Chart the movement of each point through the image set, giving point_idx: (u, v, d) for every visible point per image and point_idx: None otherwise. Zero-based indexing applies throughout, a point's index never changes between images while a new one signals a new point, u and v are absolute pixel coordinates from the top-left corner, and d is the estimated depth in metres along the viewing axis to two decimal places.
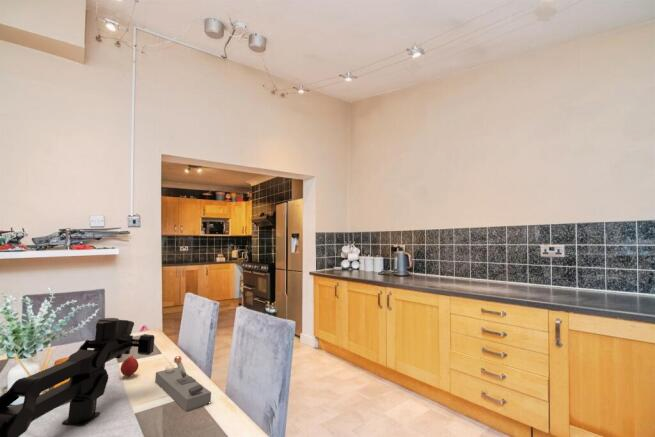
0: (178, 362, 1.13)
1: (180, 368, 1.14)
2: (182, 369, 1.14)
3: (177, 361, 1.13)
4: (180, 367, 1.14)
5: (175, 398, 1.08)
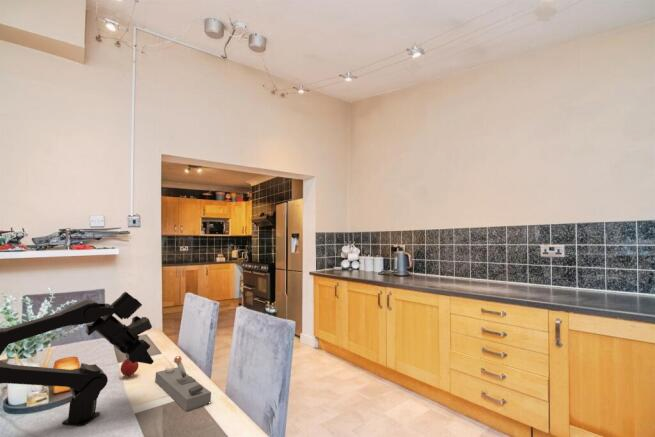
0: (178, 362, 1.13)
1: (180, 368, 1.14)
2: (182, 369, 1.14)
3: (177, 361, 1.13)
4: (180, 367, 1.14)
5: (175, 398, 1.08)
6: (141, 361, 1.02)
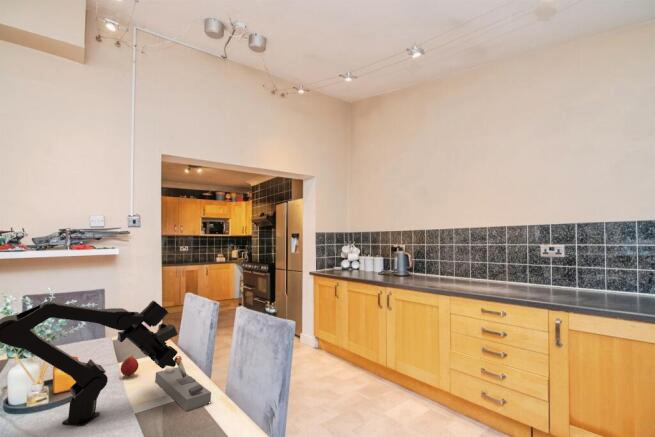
0: (178, 362, 1.13)
1: (180, 368, 1.14)
2: (182, 369, 1.14)
3: (177, 361, 1.13)
4: (180, 367, 1.14)
5: (175, 398, 1.08)
6: None
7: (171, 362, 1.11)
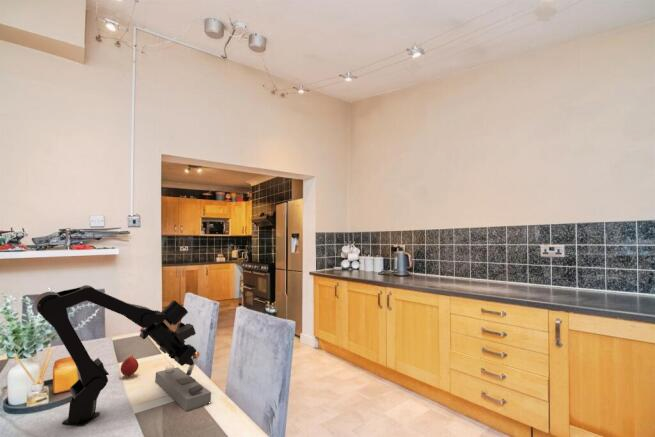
0: (195, 357, 1.17)
1: None
2: (192, 366, 1.17)
3: (195, 355, 1.17)
4: None
5: (175, 398, 1.08)
6: None
7: (189, 361, 1.15)
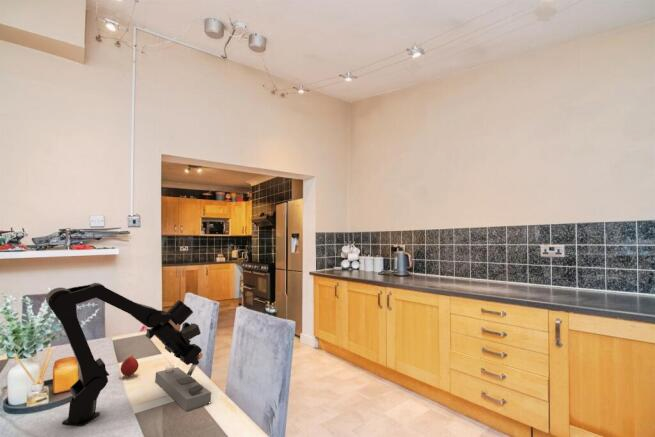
0: (198, 357, 1.18)
1: (194, 364, 1.17)
2: (194, 367, 1.17)
3: (199, 356, 1.18)
4: None
5: (175, 398, 1.08)
6: None
7: (195, 360, 1.16)
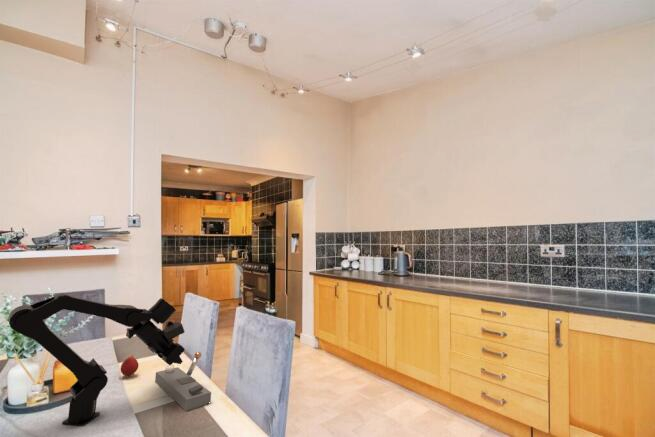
0: (197, 357, 1.18)
1: (193, 364, 1.17)
2: (193, 366, 1.17)
3: (197, 355, 1.18)
4: (193, 363, 1.17)
5: (175, 398, 1.08)
6: None
7: (178, 359, 1.13)
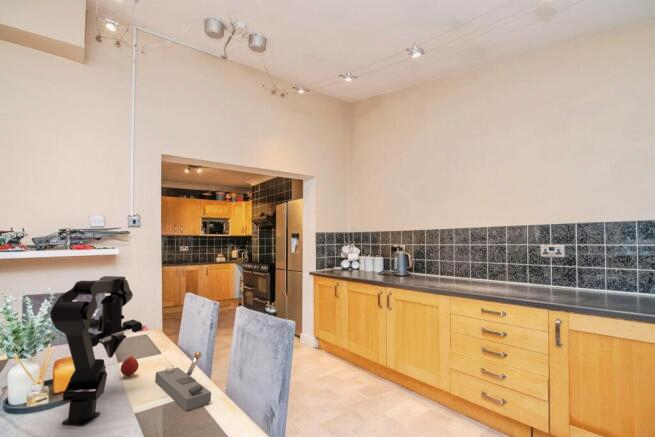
0: (197, 357, 1.18)
1: (193, 364, 1.17)
2: (193, 366, 1.17)
3: (197, 355, 1.18)
4: (193, 363, 1.17)
5: (175, 398, 1.08)
6: None
7: None
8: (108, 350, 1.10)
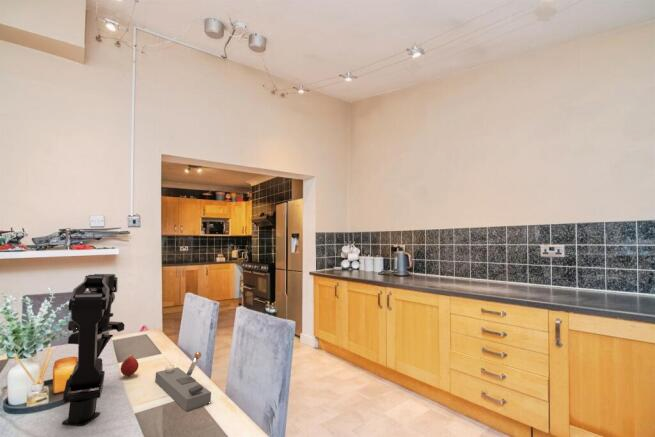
0: (197, 357, 1.18)
1: (193, 364, 1.17)
2: (193, 366, 1.17)
3: (197, 355, 1.18)
4: (193, 363, 1.17)
5: (175, 398, 1.08)
6: None
7: None
8: (96, 350, 1.09)
